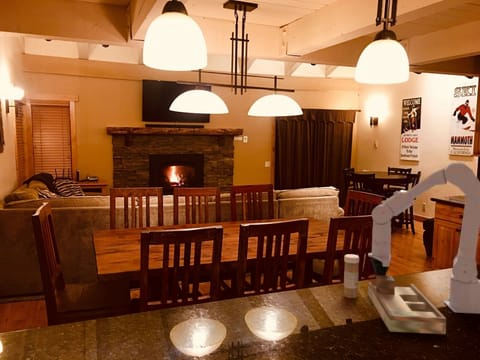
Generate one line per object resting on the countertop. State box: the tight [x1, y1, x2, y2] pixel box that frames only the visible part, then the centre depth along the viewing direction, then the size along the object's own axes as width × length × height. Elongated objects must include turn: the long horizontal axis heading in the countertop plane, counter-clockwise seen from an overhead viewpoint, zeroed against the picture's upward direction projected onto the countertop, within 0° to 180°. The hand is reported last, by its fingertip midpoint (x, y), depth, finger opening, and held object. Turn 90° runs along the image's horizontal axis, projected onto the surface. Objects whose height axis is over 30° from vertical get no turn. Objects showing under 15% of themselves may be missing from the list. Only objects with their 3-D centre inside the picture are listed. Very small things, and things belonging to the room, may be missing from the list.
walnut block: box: [375, 275, 396, 295], centre depth 123 cm, size 4×4×4 cm
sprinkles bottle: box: [343, 253, 360, 299], centre depth 127 cm, size 5×5×13 cm
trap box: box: [367, 281, 447, 335], centre depth 116 cm, size 14×26×4 cm, turn 174°
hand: (380, 281), depth 130 cm, fingers closed
